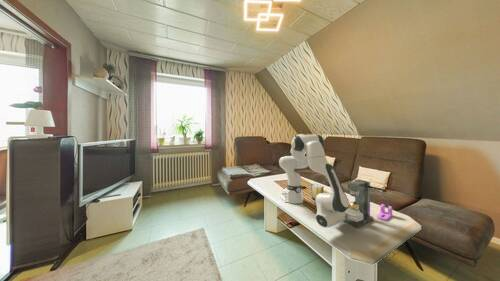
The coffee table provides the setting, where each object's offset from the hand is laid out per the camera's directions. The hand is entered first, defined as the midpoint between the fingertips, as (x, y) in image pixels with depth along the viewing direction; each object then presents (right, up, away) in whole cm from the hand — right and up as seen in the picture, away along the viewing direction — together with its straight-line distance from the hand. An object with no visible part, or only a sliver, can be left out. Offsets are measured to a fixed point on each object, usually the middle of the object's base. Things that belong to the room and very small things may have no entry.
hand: (350, 208), depth 109 cm
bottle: (+4, -7, +3) cm, 9 cm away
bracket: (+27, -9, +7) cm, 29 cm away
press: (+8, -9, +1) cm, 12 cm away
